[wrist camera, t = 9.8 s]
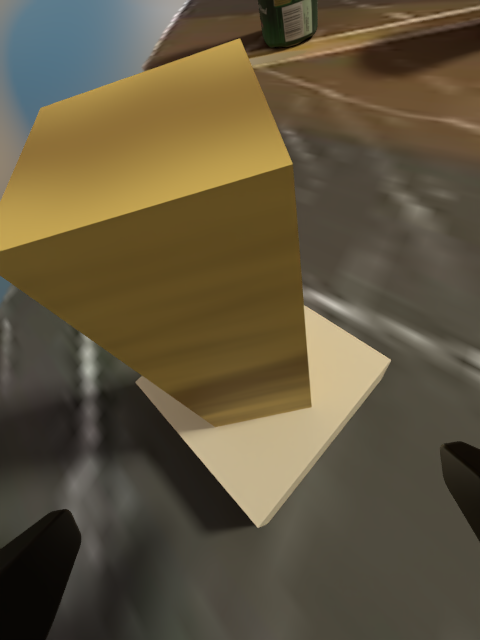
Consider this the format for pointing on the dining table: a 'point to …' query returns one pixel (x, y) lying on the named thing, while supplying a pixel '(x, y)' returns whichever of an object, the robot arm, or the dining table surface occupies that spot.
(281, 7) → the coffee jar
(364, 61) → the dining table surface
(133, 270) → the pillar block
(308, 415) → the plinth
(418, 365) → the dining table surface
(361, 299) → the dining table surface
